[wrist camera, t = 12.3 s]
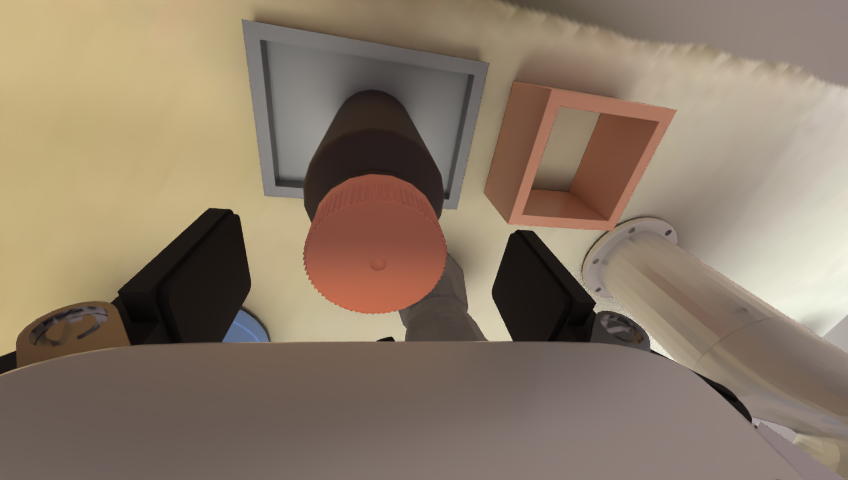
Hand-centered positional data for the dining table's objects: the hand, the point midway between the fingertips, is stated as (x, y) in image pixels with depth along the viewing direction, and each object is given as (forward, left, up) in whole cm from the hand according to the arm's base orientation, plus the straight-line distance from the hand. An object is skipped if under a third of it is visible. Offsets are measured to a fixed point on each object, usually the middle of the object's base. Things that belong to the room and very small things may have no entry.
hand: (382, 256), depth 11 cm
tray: (0, 0, -21) cm, 21 cm away
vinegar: (0, 0, -20) cm, 20 cm away
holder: (-18, 0, -21) cm, 27 cm away
